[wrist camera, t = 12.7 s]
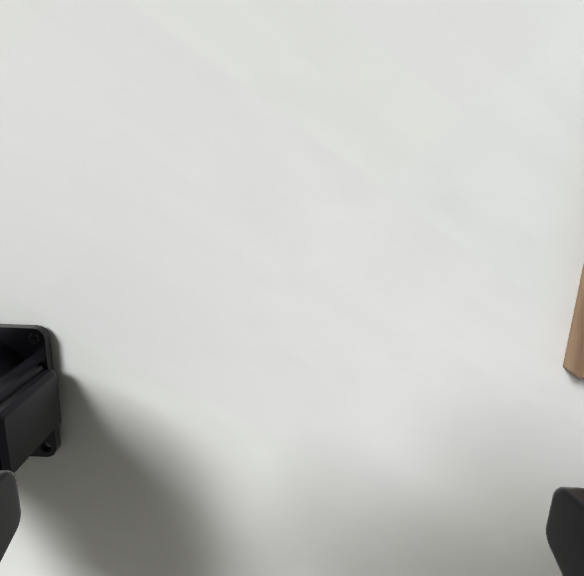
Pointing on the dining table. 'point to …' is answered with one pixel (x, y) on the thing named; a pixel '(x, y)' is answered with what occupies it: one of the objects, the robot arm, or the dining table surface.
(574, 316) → the plate
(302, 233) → the dining table surface
